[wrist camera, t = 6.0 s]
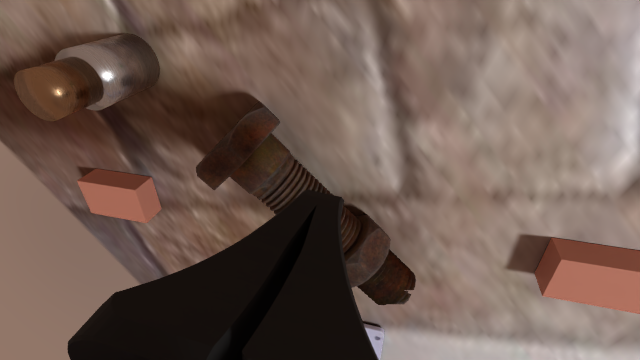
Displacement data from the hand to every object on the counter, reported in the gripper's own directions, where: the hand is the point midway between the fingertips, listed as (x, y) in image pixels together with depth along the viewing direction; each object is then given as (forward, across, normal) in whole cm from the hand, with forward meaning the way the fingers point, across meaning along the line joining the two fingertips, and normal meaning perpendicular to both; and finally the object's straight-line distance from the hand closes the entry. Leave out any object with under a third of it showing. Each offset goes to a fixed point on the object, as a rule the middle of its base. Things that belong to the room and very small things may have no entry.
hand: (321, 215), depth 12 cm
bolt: (+9, +1, +6) cm, 11 cm away
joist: (+9, -15, +6) cm, 18 cm away
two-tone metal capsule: (+9, +14, -1) cm, 17 cm away
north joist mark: (+9, +17, +10) cm, 21 cm away
